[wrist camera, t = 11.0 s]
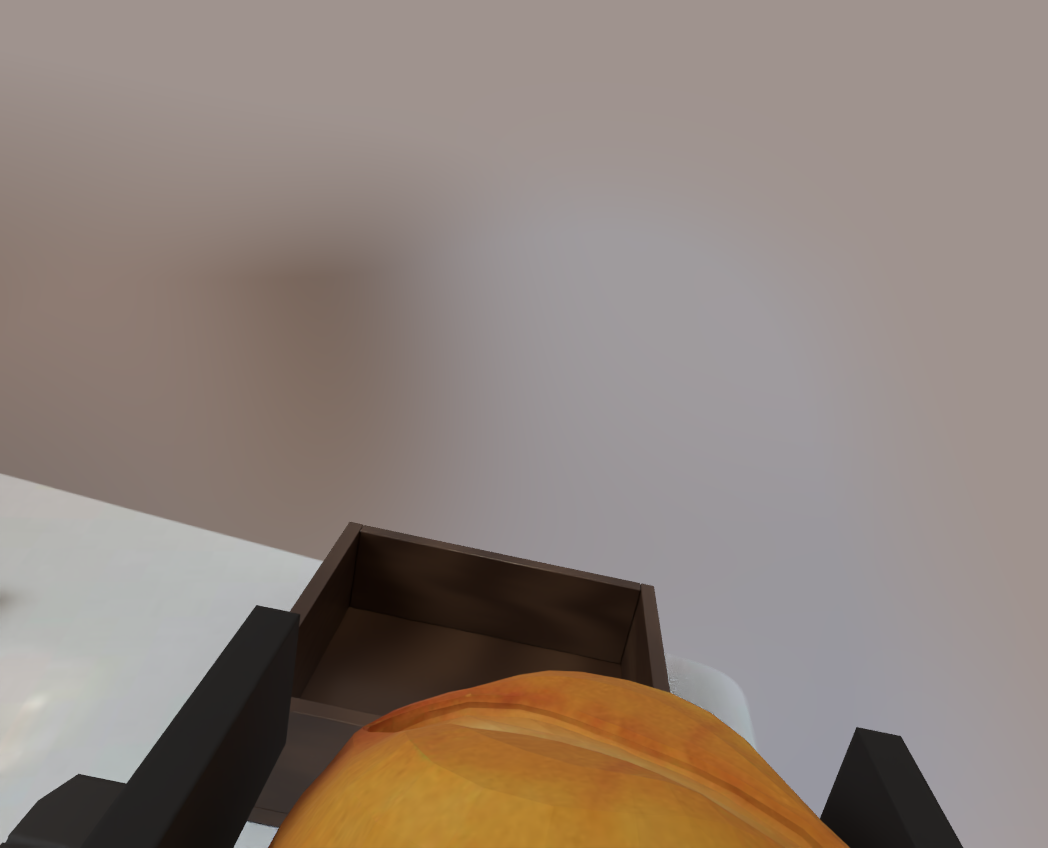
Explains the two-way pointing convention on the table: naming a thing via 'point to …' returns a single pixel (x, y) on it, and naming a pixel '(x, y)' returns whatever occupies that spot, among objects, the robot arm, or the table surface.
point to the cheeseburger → (551, 775)
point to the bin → (441, 638)
